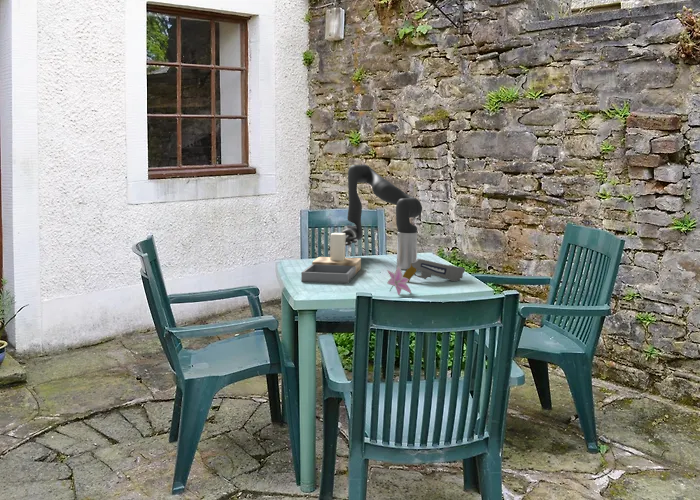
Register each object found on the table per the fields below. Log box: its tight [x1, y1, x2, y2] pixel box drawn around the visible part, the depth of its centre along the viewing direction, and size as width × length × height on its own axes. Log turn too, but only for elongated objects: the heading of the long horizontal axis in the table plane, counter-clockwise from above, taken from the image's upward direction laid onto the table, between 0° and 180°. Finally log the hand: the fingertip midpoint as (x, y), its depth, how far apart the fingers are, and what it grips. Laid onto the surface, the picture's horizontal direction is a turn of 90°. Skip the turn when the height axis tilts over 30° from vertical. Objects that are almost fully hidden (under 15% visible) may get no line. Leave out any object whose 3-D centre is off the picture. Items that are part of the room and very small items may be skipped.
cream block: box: [329, 232, 346, 261], centre depth 347 cm, size 6×6×12 cm
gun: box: [403, 258, 466, 283], centre depth 323 cm, size 3×25×15 cm, turn 100°
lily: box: [386, 266, 412, 296], centre depth 298 cm, size 12×12×10 cm
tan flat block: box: [311, 256, 362, 275], centre depth 346 cm, size 20×16×5 cm
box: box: [300, 263, 357, 284], centre depth 327 cm, size 20×22×4 cm
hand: (341, 241), depth 358 cm, fingers closed
